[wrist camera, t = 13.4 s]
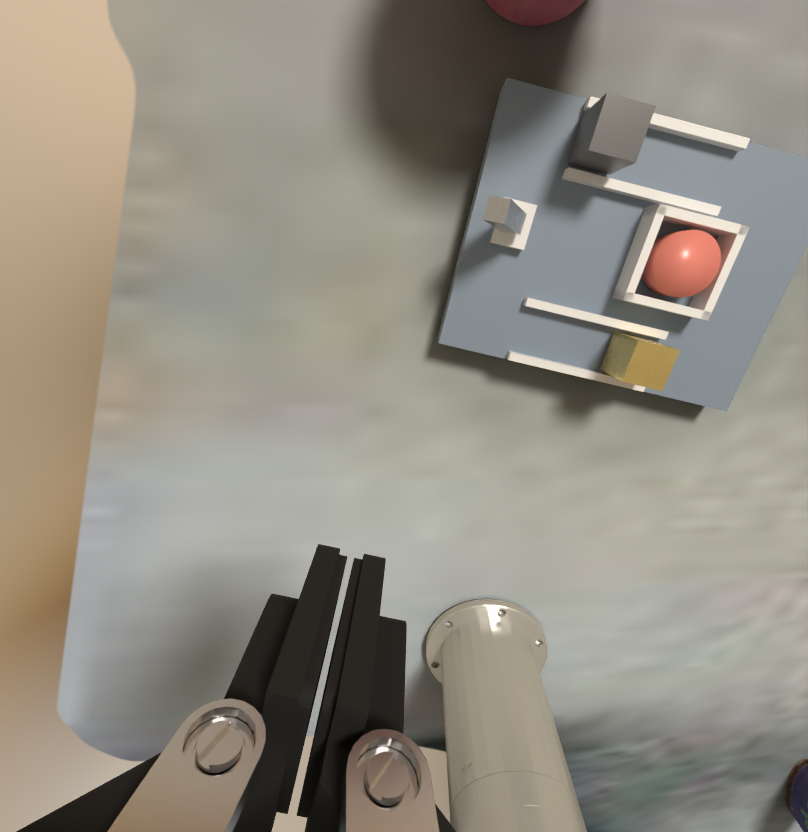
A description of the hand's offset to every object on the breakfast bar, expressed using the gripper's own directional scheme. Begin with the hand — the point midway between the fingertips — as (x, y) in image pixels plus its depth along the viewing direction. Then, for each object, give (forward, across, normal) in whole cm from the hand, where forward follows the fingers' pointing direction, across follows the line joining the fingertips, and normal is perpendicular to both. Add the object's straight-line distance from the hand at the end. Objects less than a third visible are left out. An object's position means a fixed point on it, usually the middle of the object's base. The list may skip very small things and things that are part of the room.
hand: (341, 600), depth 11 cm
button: (+26, -18, -12) cm, 34 cm away
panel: (+29, -15, -12) cm, 35 cm away
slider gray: (+26, -10, -18) cm, 33 cm away
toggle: (+26, -6, -12) cm, 29 cm away
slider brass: (+26, -17, -5) cm, 32 cm away
